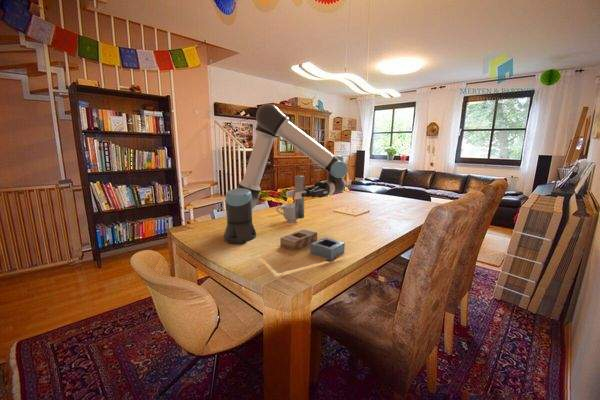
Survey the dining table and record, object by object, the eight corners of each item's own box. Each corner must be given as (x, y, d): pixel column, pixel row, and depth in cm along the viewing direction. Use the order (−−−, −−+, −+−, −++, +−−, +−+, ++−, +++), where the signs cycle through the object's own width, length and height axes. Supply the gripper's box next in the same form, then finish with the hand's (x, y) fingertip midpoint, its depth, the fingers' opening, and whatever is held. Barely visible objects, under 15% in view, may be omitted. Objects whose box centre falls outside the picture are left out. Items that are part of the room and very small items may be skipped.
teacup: (276, 219, 157) (276, 203, 155) (300, 218, 159) (300, 202, 157) (276, 224, 146) (276, 207, 144) (303, 224, 147) (303, 207, 145)
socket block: (330, 262, 99) (331, 249, 98) (310, 255, 105) (310, 243, 104) (344, 254, 106) (344, 242, 105) (324, 248, 112) (324, 237, 111)
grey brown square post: (297, 219, 110) (298, 176, 106) (293, 216, 113) (293, 175, 109) (305, 217, 112) (306, 176, 108) (301, 215, 115) (301, 175, 111)
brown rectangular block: (294, 253, 106) (294, 242, 105) (280, 248, 111) (280, 237, 110) (317, 242, 118) (317, 232, 117) (303, 239, 123) (303, 229, 122)
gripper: (338, 198, 119) (307, 207, 101) (309, 194, 130) (276, 201, 112) (339, 182, 118) (307, 188, 100) (309, 179, 128) (276, 184, 111)
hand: (291, 195), depth 106 cm, fingers closed on grey brown square post, 4 cm apart
